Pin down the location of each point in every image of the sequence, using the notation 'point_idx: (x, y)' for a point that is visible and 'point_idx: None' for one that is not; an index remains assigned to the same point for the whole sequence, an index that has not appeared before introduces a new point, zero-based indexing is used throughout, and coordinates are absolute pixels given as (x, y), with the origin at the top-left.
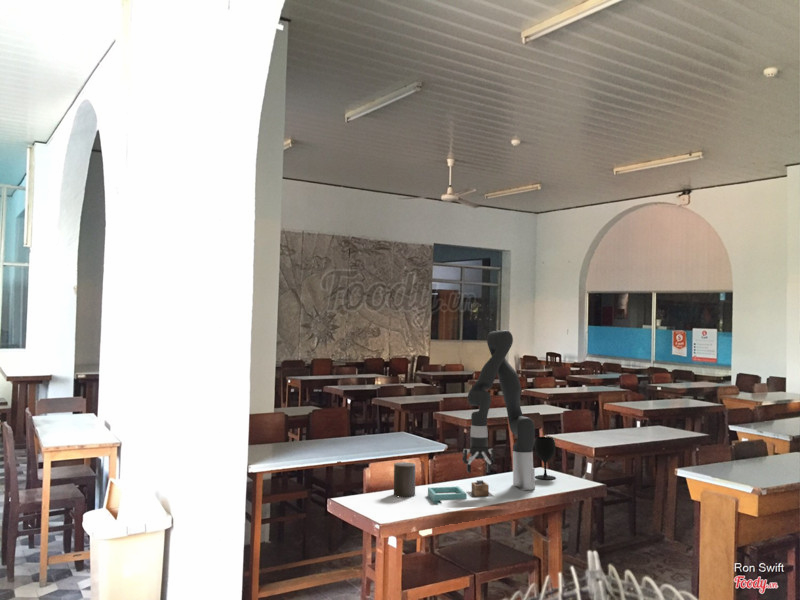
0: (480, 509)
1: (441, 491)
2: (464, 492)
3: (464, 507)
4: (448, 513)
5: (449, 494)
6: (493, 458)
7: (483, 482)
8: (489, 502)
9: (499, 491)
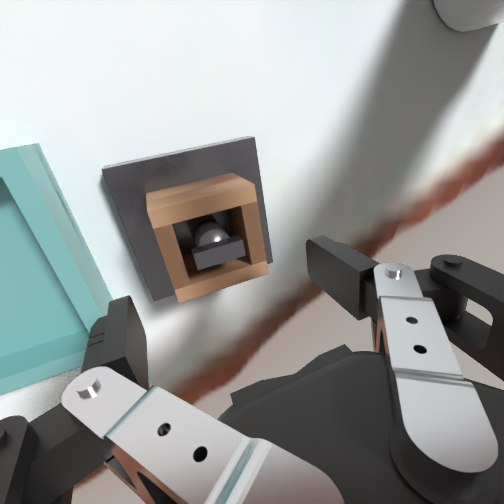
0: None
1: None
2: None
3: None
4: None
5: (2, 394)
6: (474, 345)
7: (244, 205)
8: (237, 303)
9: (328, 46)
